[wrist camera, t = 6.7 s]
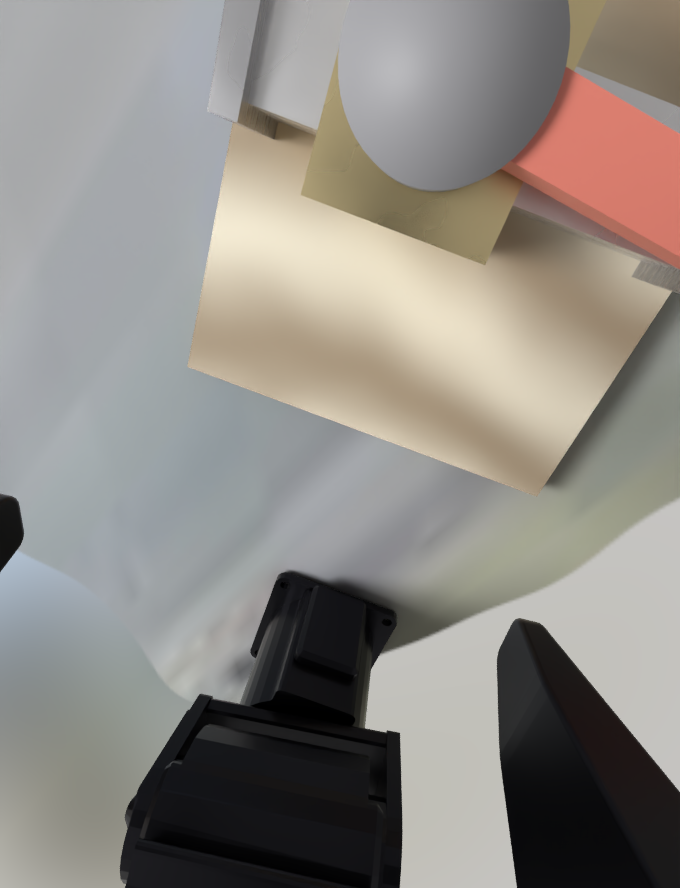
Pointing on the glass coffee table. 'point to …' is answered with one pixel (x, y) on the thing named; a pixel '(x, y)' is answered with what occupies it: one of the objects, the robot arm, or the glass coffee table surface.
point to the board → (429, 300)
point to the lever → (504, 111)
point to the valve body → (352, 171)
